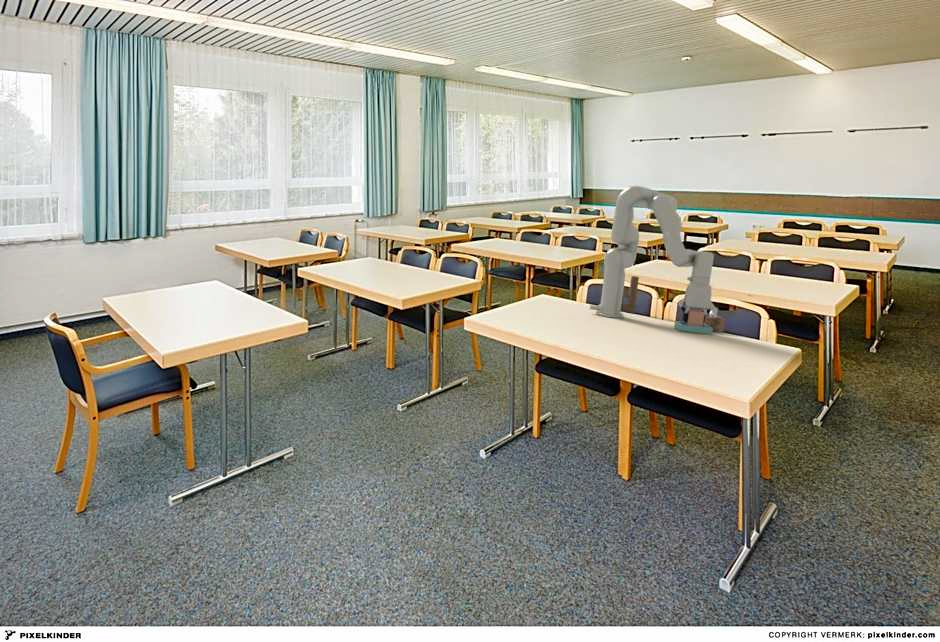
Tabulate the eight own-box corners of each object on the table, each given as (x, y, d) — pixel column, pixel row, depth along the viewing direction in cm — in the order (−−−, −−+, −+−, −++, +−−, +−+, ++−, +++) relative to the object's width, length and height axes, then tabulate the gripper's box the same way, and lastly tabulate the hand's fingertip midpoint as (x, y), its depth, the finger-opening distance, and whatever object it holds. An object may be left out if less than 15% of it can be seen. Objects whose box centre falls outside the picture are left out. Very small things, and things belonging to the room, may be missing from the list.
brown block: (704, 330, 253) (706, 317, 252) (698, 327, 261) (700, 314, 260) (722, 332, 252) (725, 319, 251) (716, 329, 260) (719, 316, 259)
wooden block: (615, 309, 297) (620, 274, 294) (635, 312, 291) (640, 276, 287) (612, 309, 294) (617, 274, 291) (632, 313, 288) (637, 277, 285)
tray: (680, 331, 245) (681, 324, 245) (674, 327, 255) (675, 320, 254) (711, 335, 244) (712, 327, 244) (704, 330, 254) (705, 323, 253)
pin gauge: (708, 330, 255) (711, 307, 253) (706, 329, 258) (709, 307, 256) (715, 331, 255) (718, 308, 253) (713, 329, 258) (716, 307, 256)
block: (687, 325, 246) (690, 311, 245) (684, 322, 252) (686, 308, 251) (702, 326, 246) (704, 312, 245) (698, 324, 252) (700, 310, 251)
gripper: (681, 279, 243) (675, 322, 246) (724, 284, 241) (716, 326, 245) (677, 278, 250) (670, 319, 253) (718, 282, 249) (711, 323, 252)
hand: (693, 322), depth 249 cm, fingers closed on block, 6 cm apart
